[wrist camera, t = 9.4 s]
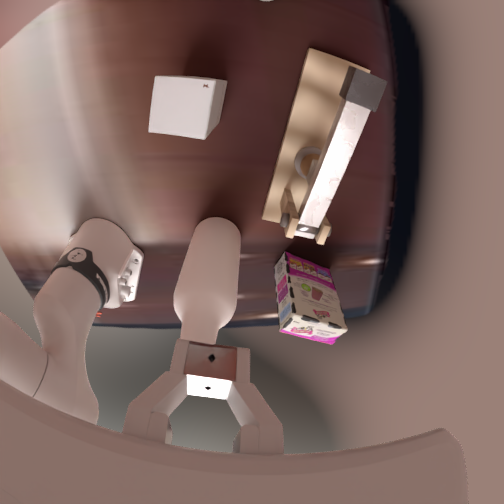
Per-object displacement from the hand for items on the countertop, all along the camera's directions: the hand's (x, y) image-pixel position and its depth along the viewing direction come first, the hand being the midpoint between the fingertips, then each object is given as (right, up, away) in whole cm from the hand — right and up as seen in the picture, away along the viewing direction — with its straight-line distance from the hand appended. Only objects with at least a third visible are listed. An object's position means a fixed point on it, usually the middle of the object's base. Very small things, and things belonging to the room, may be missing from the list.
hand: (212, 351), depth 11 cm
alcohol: (-5, +7, +41) cm, 41 cm away
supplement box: (-6, +28, +26) cm, 39 cm away
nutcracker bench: (+12, +22, +30) cm, 39 cm away
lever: (+12, +18, +23) cm, 31 cm away
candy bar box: (+12, +1, +45) cm, 47 cm away
